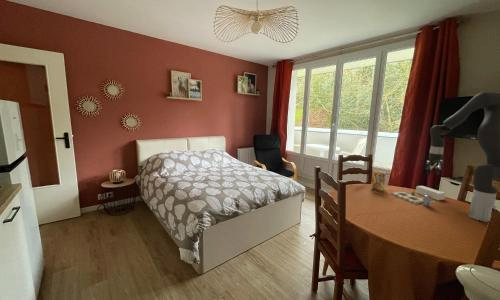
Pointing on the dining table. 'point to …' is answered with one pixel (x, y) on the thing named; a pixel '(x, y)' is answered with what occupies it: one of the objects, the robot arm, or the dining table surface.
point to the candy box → (378, 180)
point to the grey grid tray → (416, 195)
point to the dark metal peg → (427, 200)
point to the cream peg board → (408, 197)
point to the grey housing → (430, 192)
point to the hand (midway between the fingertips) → (432, 174)
